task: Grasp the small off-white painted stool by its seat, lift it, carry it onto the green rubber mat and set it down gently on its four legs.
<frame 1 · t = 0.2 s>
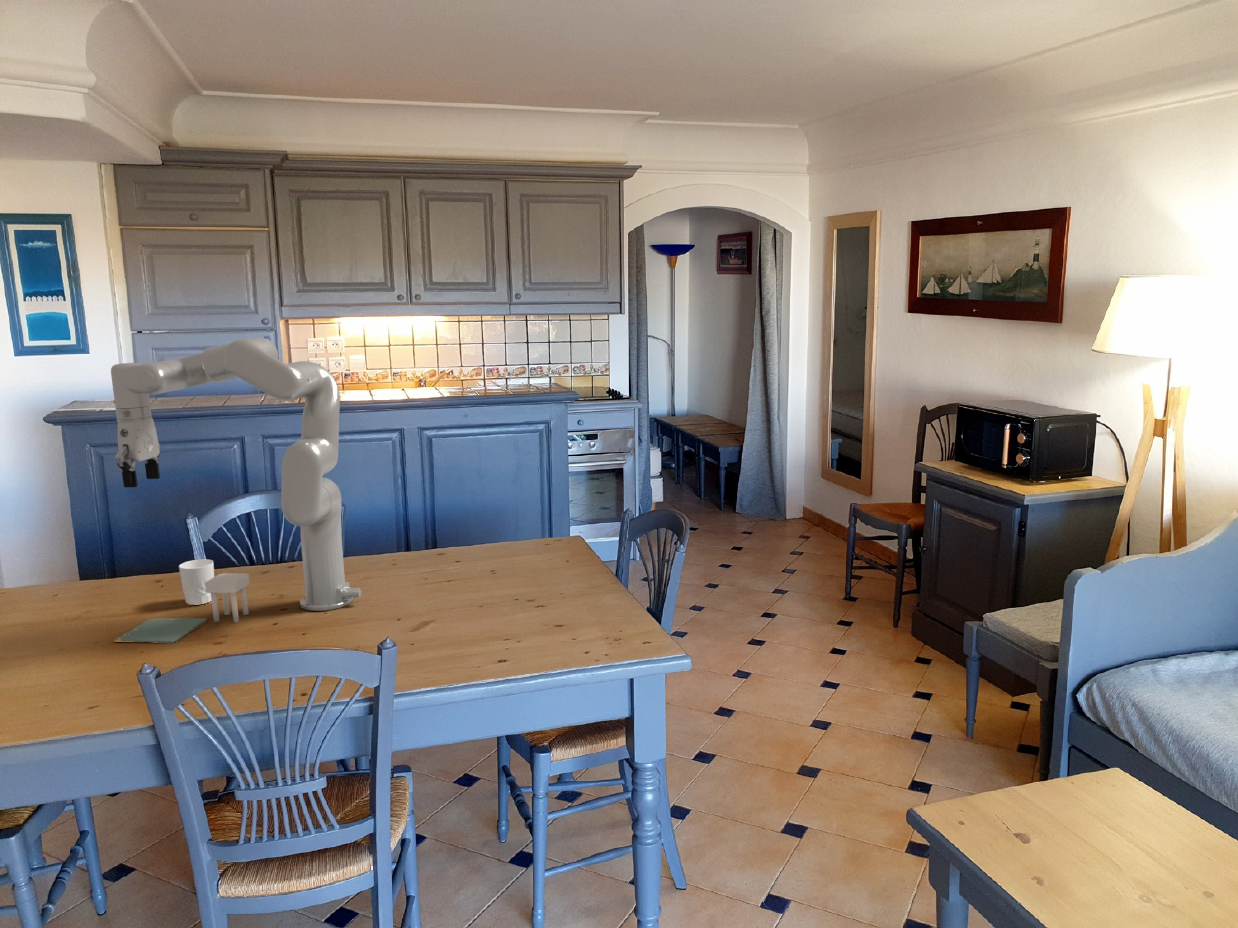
hand: (142, 482, 222), 31 cm above the table, tool pointing down, fingers open, 9 cm apart
white cup: (200, 602, 227), on the table
mat: (162, 631, 208), on the table
stool: (231, 617, 215), on the table
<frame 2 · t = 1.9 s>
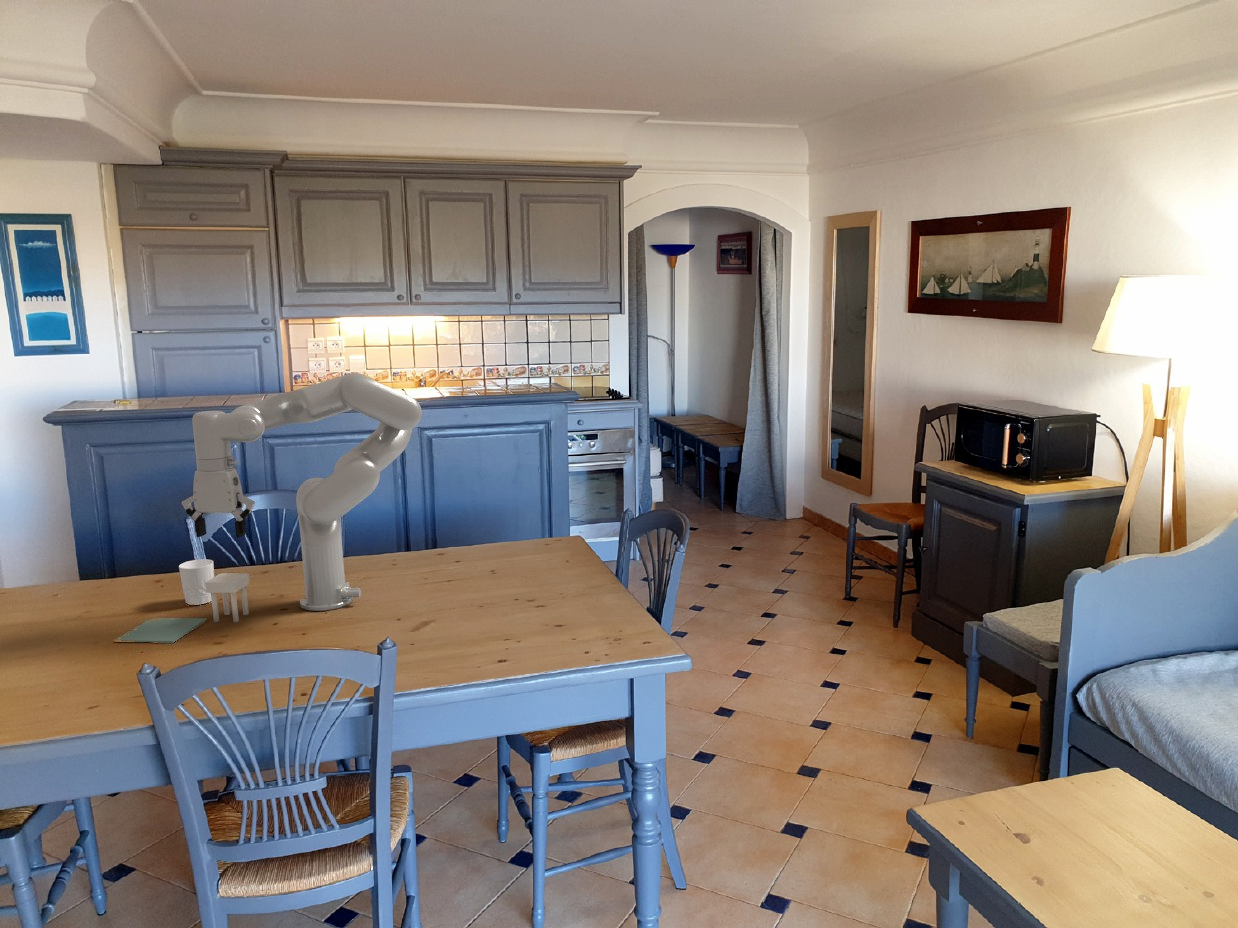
hand: (221, 536, 211), 20 cm above the table, tool pointing down, fingers open, 9 cm apart
nothing on the table moved.
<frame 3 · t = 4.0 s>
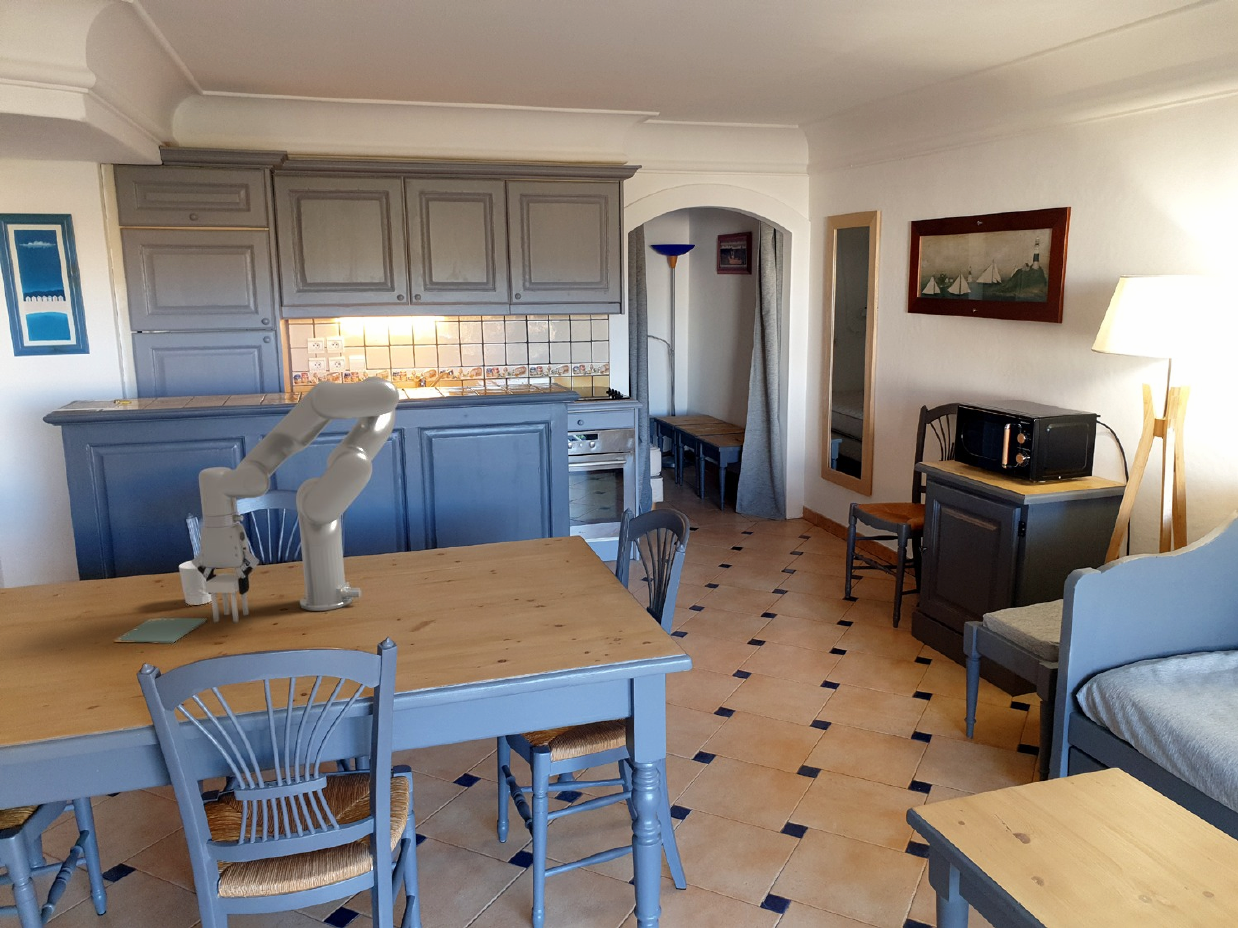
hand: (228, 591, 214), 6 cm above the table, tool pointing down, fingers closed on stool, 7 cm apart
stool: (231, 617, 215), on the table, touching gripper
everything else where it was.
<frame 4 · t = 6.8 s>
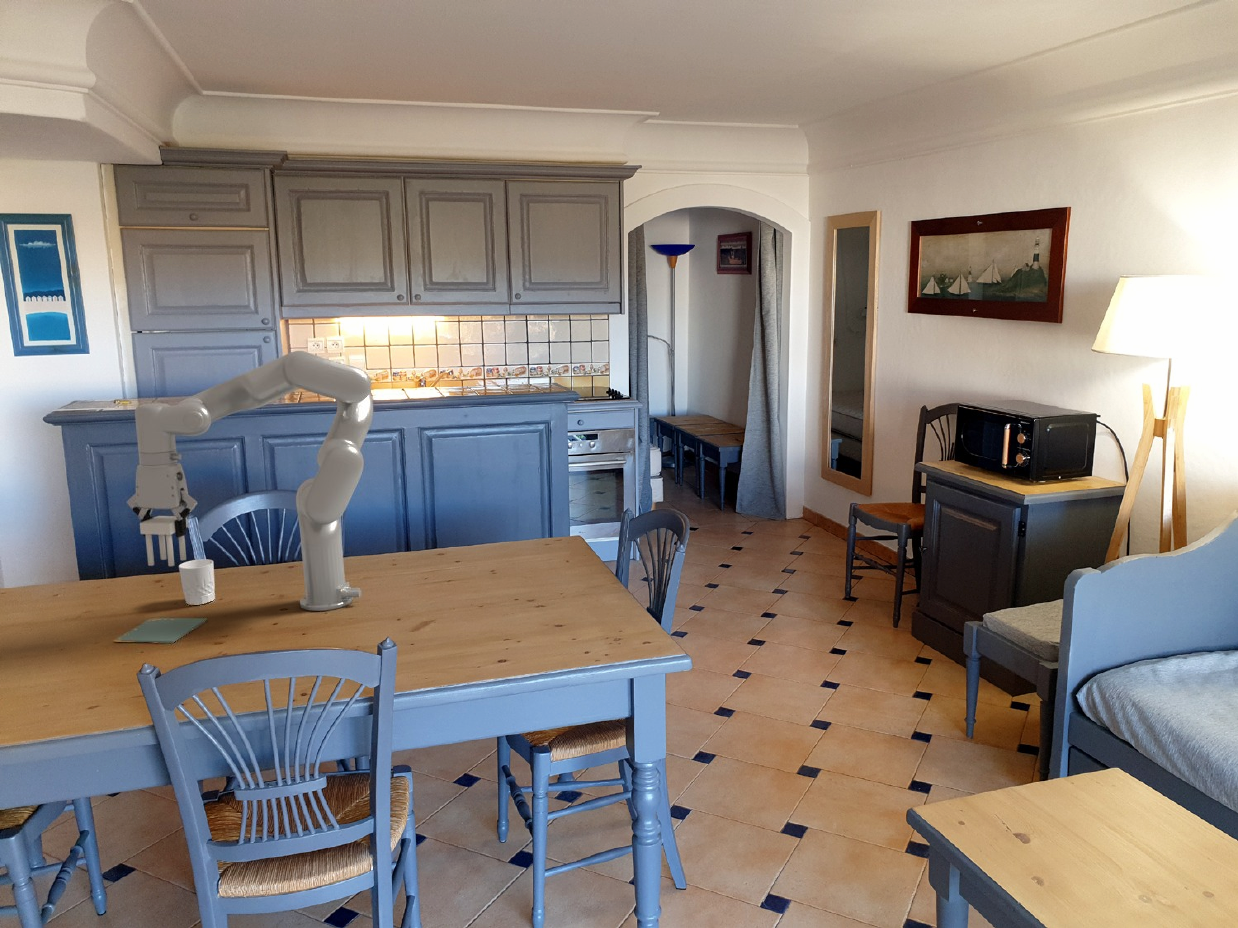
hand: (164, 534, 205), 22 cm above the table, tool pointing down, fingers closed on stool, 7 cm apart
stool: (167, 562, 206), point 16 cm above the table, touching gripper
everything else where it was.
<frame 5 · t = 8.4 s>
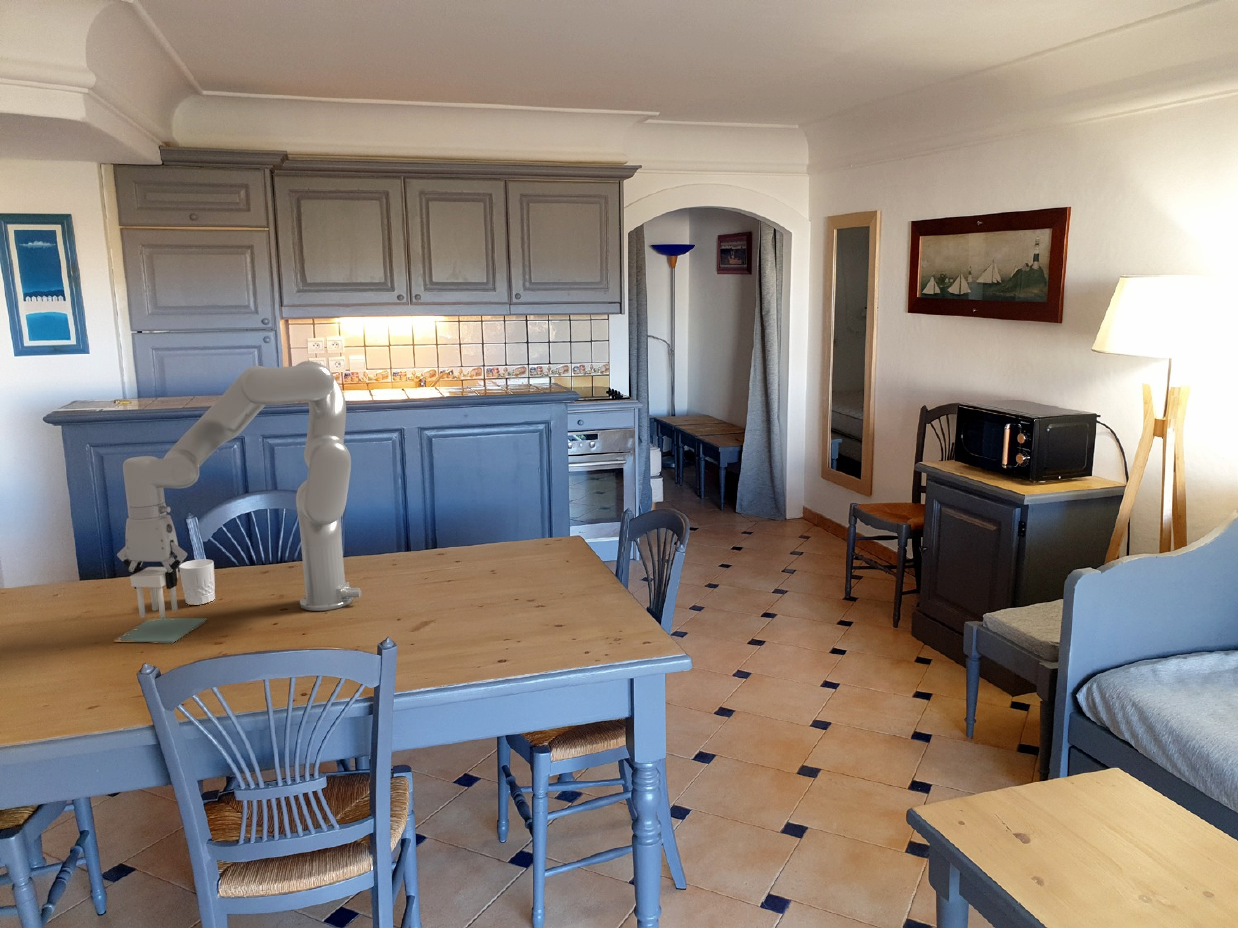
hand: (155, 586, 205), 11 cm above the table, tool pointing down, fingers closed on stool, 7 cm apart
stool: (159, 613, 207), point 4 cm above the table, touching gripper
everything else where it was.
when the fingers open (8 cm above the table, at t = 9.8 s): stool drops 1 cm, resting on mat.
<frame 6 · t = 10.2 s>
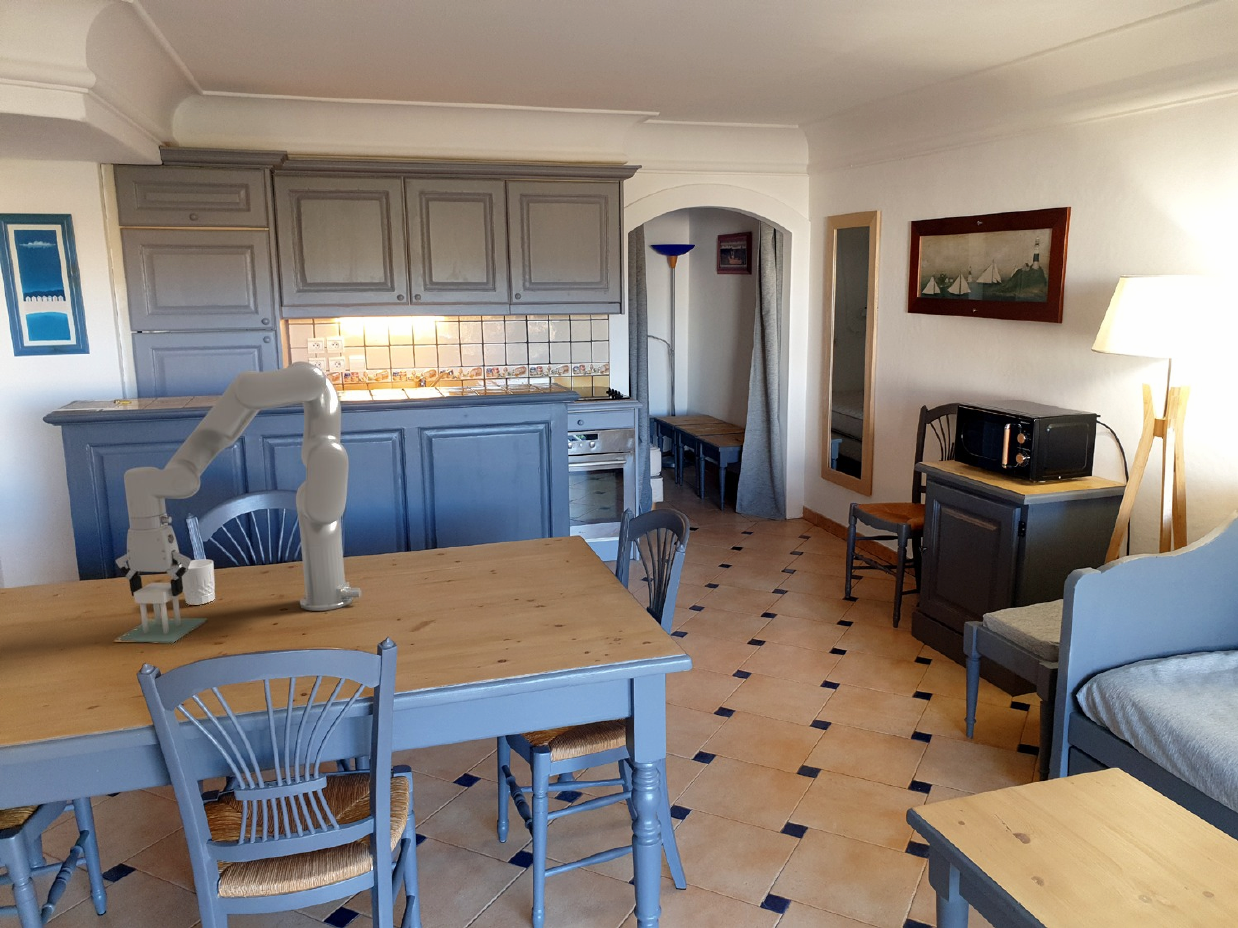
hand: (157, 594, 206), 9 cm above the table, tool pointing down, fingers open, 9 cm apart
stool: (162, 628, 207), resting on mat
everything else where it was.
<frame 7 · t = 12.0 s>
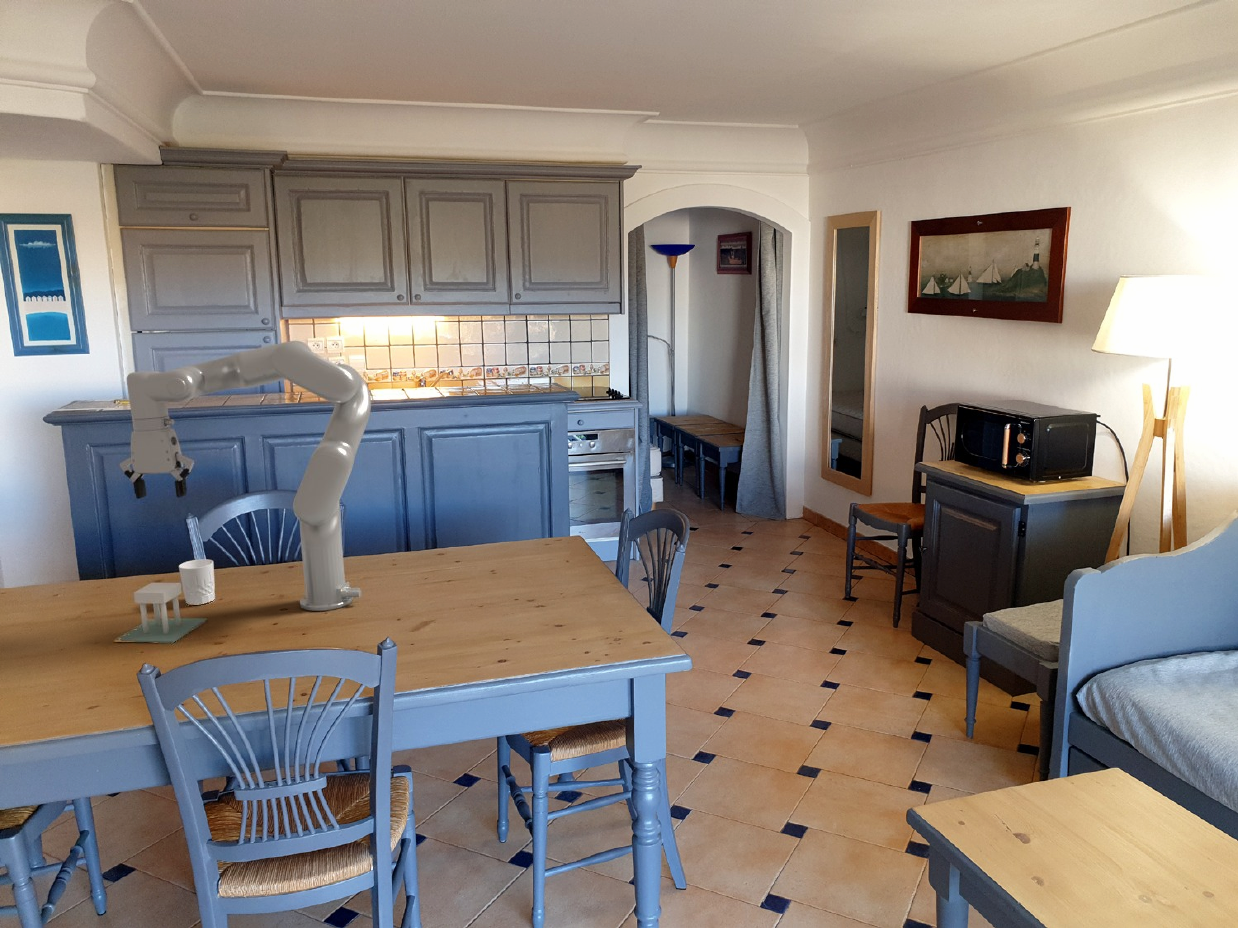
hand: (161, 496, 211), 30 cm above the table, tool pointing down, fingers open, 9 cm apart
nothing on the table moved.
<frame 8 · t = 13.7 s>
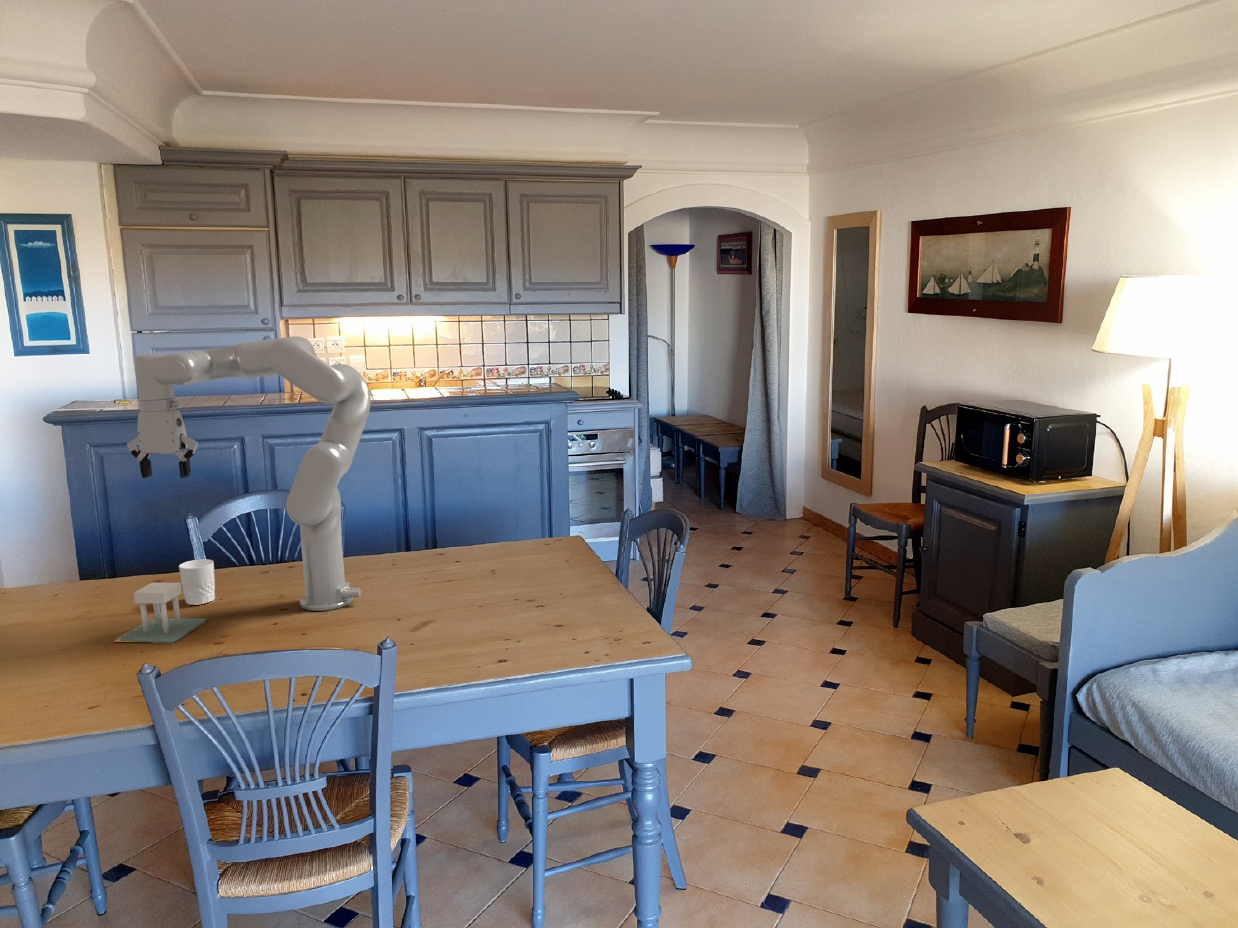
hand: (166, 476, 216), 33 cm above the table, tool pointing down, fingers open, 9 cm apart
nothing on the table moved.
at the end: stool inside the target area on the mat (0.2 cm from its centre), point 0.5 cm above the mat's base; stool tilted 0°; the gripper is holding nothing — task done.
